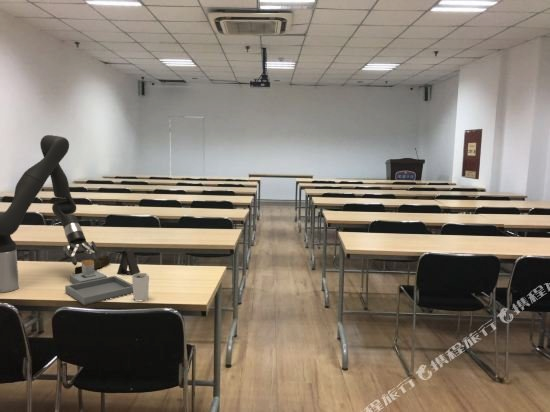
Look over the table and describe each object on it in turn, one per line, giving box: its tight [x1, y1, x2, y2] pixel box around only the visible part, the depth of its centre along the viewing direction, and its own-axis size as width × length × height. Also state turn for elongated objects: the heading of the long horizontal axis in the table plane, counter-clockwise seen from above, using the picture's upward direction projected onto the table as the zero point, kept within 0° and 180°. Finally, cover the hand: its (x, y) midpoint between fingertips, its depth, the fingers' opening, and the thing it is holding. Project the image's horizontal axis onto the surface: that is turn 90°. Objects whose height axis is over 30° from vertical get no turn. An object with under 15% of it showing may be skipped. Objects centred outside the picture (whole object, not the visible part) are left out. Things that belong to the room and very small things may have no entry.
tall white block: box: [81, 258, 95, 278], centre depth 198 cm, size 4×4×10 cm
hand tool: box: [74, 254, 111, 274], centre depth 218 cm, size 23×5×6 cm, turn 160°
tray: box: [64, 275, 133, 306], centre depth 185 cm, size 22×20×3 cm
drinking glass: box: [131, 272, 150, 301], centre depth 178 cm, size 7×7×10 cm
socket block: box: [69, 270, 108, 284], centre depth 199 cm, size 12×12×3 cm
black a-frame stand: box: [116, 248, 141, 277], centre depth 213 cm, size 9×6×12 cm, turn 78°
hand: (85, 262), depth 200 cm, fingers open, 8 cm apart
